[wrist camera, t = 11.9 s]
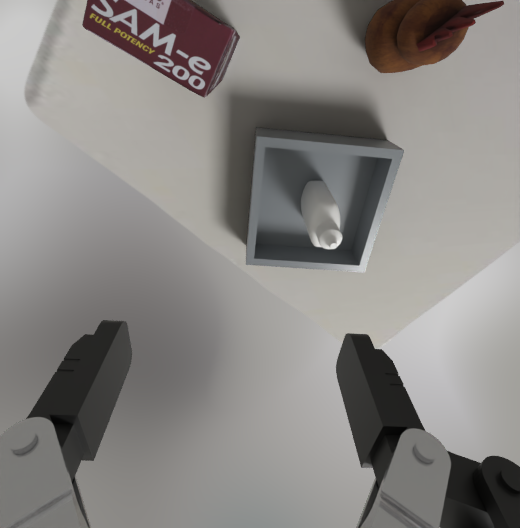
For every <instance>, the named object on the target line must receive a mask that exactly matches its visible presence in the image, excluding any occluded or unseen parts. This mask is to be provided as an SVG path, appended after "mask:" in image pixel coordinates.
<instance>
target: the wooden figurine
mask: <svg viewBox="0 0 520 528" xmlns="http://www.w3.org/2000/svg"><path fill="white" fill-rule="evenodd" d="M502 5H504V2H503V1H498V2H490V3H482V4H475V5H469V6H466V4H465V3H464V2H463V1H462V0H393V1H391V2H389V3H388V4H386V5H385V6H383V7H382V8H380V9H379V10H377V12H376V13H375V14H374V16H373V18H372V20H371V21H370V23H369V25H368V28H367V32H366V37H365V45H366V52H367V56H368V59H369V62H370V64H371V65H372V66H373V67H375V68H376V69H377V70H378V71H379V72H380V73H395V72H402V71H407V70H412V69H414V68H417V67H419V66H422V65H428V64H434V63H437V62H439V61H441V60H443V59H445V58H446V57H448V56H449V55H450V54H451V53H452V52H454V51H455V50H456V49H457V47H458V46H459V45H460V43H461V42H462V41H463V39H464V37H465V34H466V32H467V30H468V27H469V26H472V25H473V24H475V23H476V22H475V20H474V18H476V17H479V16H481V15H483V14H485V13H488V12H490V11H492V10H494V9H497V8H499V7H501V6H502Z"/></svg>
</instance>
